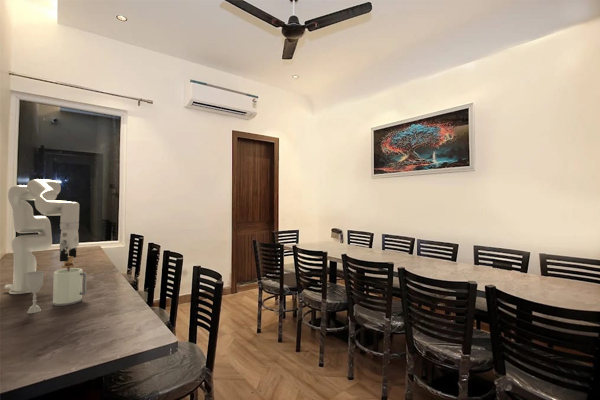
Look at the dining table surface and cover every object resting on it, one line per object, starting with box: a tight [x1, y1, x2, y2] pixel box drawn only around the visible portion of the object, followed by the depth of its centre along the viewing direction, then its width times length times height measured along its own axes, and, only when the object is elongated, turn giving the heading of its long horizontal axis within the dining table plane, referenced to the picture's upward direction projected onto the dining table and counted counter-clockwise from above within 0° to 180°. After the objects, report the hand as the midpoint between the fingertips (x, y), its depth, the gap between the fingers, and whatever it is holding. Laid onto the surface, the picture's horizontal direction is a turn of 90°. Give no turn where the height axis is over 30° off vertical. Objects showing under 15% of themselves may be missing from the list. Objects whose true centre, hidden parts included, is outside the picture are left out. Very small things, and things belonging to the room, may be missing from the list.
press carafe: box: [52, 267, 88, 307], centre depth 152 cm, size 14×12×16 cm
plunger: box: [61, 255, 76, 273], centre depth 152 cm, size 6×6×21 cm
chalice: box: [25, 270, 46, 314], centre depth 139 cm, size 7×7×18 cm
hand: (68, 259), depth 152 cm, fingers open, 9 cm apart
